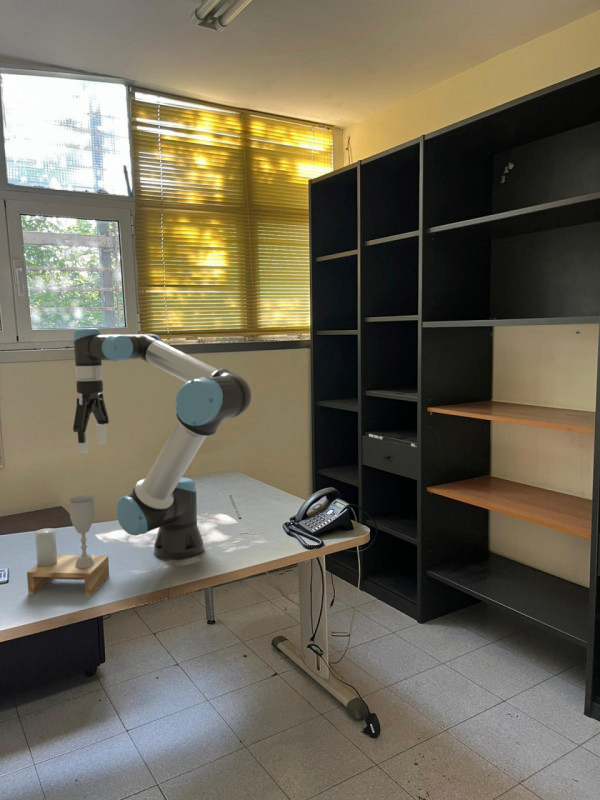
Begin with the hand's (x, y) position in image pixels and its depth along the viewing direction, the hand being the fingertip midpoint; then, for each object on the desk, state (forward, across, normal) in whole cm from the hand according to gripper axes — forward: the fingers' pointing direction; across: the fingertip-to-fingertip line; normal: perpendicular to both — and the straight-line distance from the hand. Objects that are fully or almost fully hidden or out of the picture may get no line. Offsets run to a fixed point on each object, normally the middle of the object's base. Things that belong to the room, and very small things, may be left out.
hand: (93, 449), depth 180 cm
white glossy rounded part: (+27, +24, -4) cm, 36 cm away
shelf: (+33, +24, +2) cm, 41 cm away
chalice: (+27, +24, +6) cm, 37 cm away
